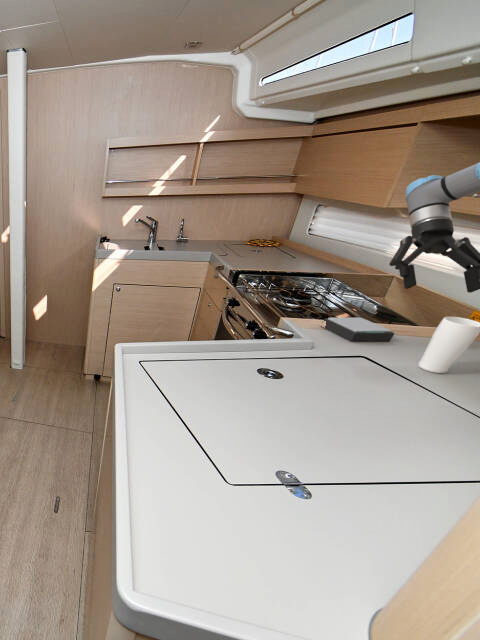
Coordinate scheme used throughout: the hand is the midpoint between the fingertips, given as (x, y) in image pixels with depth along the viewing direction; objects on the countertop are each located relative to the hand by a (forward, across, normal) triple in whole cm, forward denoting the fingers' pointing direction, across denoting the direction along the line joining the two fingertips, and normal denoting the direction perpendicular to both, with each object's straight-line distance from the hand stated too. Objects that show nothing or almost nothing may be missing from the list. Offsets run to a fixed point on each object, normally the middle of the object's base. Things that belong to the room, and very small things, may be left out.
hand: (441, 288), depth 100 cm
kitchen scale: (+7, +7, -22) cm, 24 cm away
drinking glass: (+22, 0, -7) cm, 23 cm away
